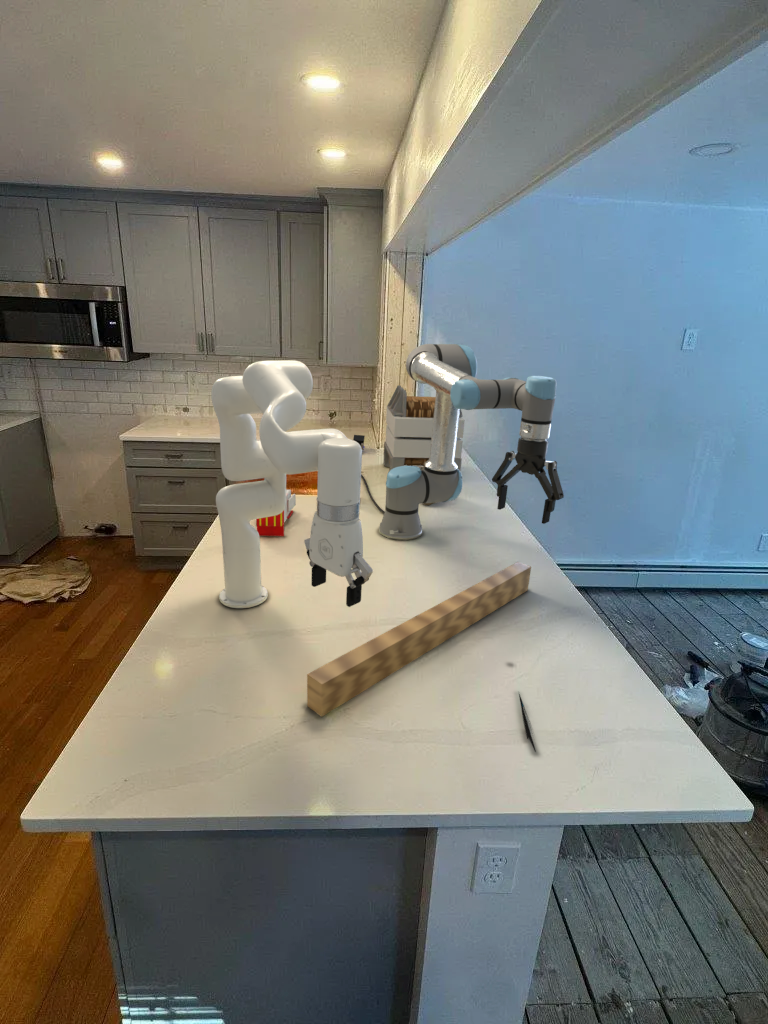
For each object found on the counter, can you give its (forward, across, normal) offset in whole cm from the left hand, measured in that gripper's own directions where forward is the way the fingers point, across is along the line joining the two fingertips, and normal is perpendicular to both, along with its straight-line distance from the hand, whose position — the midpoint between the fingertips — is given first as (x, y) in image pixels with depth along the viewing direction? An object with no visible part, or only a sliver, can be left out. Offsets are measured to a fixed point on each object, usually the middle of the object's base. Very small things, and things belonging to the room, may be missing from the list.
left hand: (335, 593), depth 106 cm
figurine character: (+29, -147, +150) cm, 212 cm away
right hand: (+1, 0, +68) cm, 68 cm away
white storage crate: (+27, -96, +142) cm, 174 cm away
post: (+24, +1, +34) cm, 41 cm away
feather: (+23, +28, +26) cm, 45 cm away
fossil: (+26, -67, +117) cm, 137 cm away
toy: (+26, -87, +50) cm, 104 cm away
